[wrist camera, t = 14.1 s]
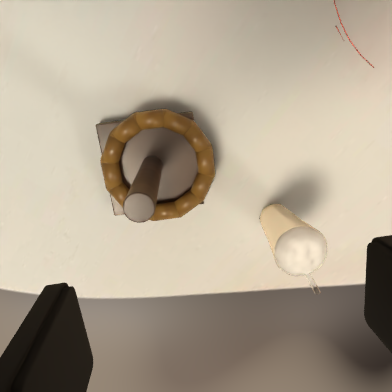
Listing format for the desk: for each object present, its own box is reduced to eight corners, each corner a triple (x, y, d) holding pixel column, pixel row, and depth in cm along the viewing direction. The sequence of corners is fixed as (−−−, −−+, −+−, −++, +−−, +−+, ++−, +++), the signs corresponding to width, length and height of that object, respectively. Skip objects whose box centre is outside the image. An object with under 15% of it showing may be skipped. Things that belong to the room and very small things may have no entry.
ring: (115, 222, 34) (113, 228, 32) (93, 117, 30) (89, 118, 29) (218, 208, 34) (220, 214, 32) (206, 102, 31) (208, 103, 29)
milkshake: (261, 248, 37) (291, 303, 28) (248, 205, 36) (274, 247, 26) (301, 235, 37) (344, 285, 27) (289, 191, 35) (331, 228, 26)
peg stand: (116, 210, 35) (82, 281, 22) (98, 123, 32) (47, 145, 19) (202, 199, 35) (218, 262, 22) (192, 111, 32) (202, 125, 19)
